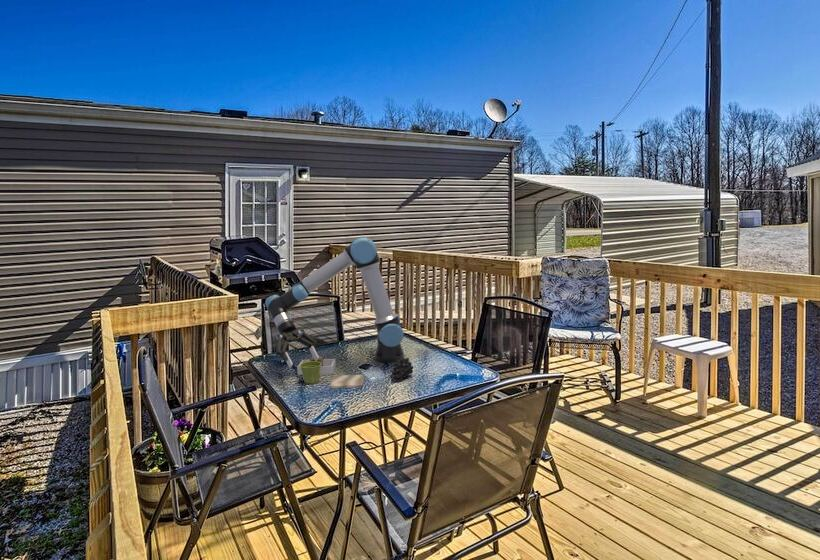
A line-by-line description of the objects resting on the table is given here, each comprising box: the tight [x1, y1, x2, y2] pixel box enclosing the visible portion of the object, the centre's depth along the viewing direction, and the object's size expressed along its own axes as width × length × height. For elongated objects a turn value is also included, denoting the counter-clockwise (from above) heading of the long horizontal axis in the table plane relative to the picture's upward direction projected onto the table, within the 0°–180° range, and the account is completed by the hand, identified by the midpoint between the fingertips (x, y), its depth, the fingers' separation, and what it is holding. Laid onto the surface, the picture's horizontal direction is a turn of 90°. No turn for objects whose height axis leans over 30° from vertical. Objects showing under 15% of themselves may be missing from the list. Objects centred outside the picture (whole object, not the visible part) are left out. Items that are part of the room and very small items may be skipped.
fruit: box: [389, 357, 414, 382], centre depth 221 cm, size 9×8×15 cm
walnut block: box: [309, 355, 324, 366], centre depth 232 cm, size 5×5×6 cm
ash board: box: [329, 374, 366, 389], centre depth 217 cm, size 14×14×1 cm
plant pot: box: [299, 361, 322, 386], centre depth 217 cm, size 9×9×9 cm
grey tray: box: [297, 358, 337, 376], centre depth 232 cm, size 16×12×4 cm
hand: (304, 362), depth 218 cm, fingers open, 13 cm apart
